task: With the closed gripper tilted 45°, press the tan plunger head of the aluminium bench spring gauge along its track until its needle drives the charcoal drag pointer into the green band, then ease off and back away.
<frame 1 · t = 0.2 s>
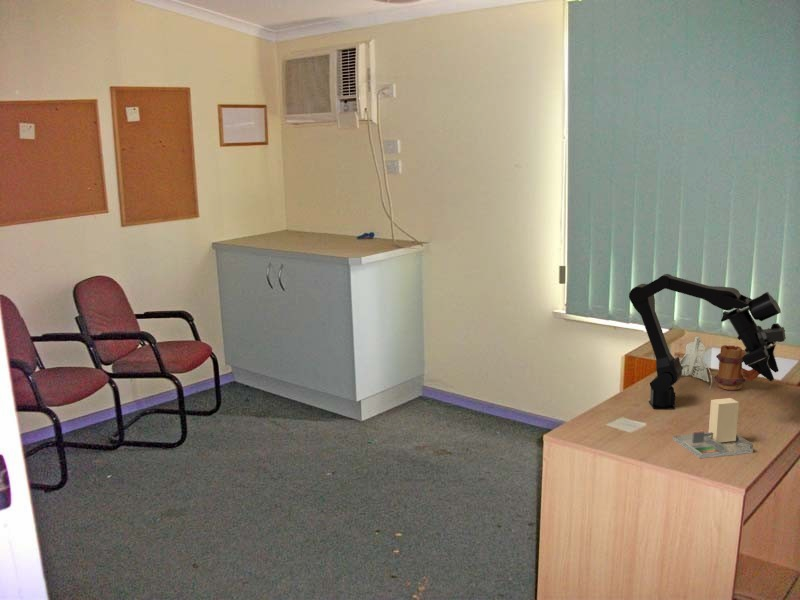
hand: (774, 375, 213), 15 cm above the table, tool tilted 35°, fingers open, 9 cm apart
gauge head: (714, 420, 202), point 7 cm above the table, slide at 0.0 cm
gauge frame: (721, 444, 203), on the table
drag pointer: (698, 436, 200), point 3 cm above the table, slide at 0.0 cm
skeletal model: (690, 377, 261), on the table
mug: (737, 390, 247), on the table
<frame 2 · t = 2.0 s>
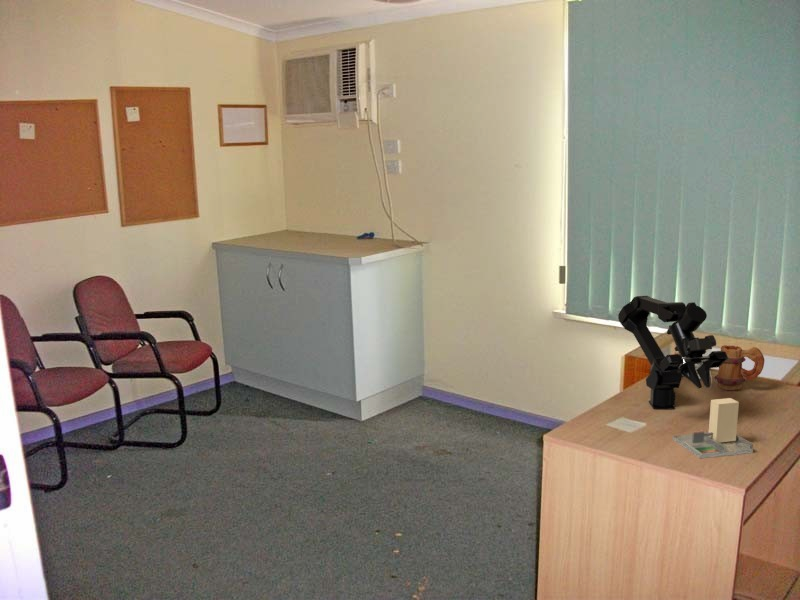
hand: (704, 387, 210), 13 cm above the table, tool tilted 45°, fingers closed
nothing on the table moved.
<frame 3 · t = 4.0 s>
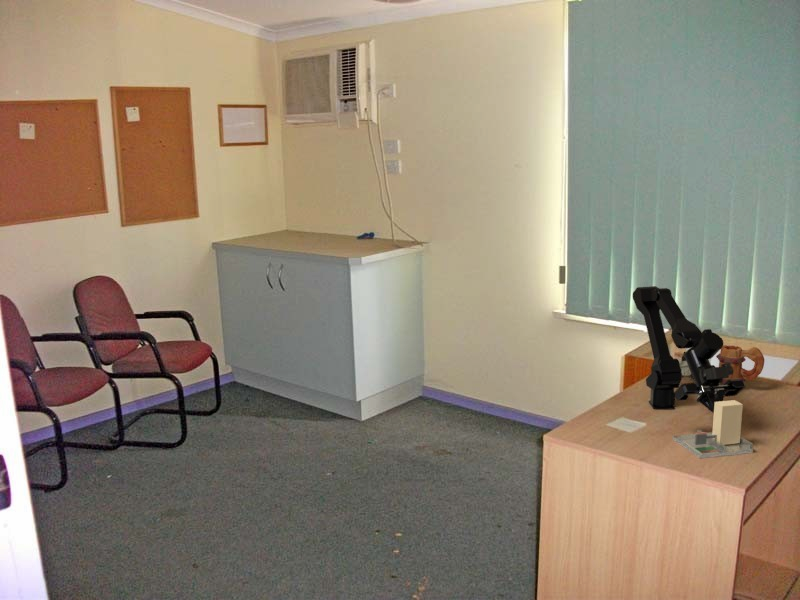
hand: (721, 417, 203), 7 cm above the table, tool tilted 45°, fingers closed, pressing on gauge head
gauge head: (718, 422, 200), point 7 cm above the table, slide at 1.7 cm, touching drag pointer, gripper
drag pointer: (700, 438, 199), point 3 cm above the table, slide at 1.2 cm, touching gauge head
everything else where it was.
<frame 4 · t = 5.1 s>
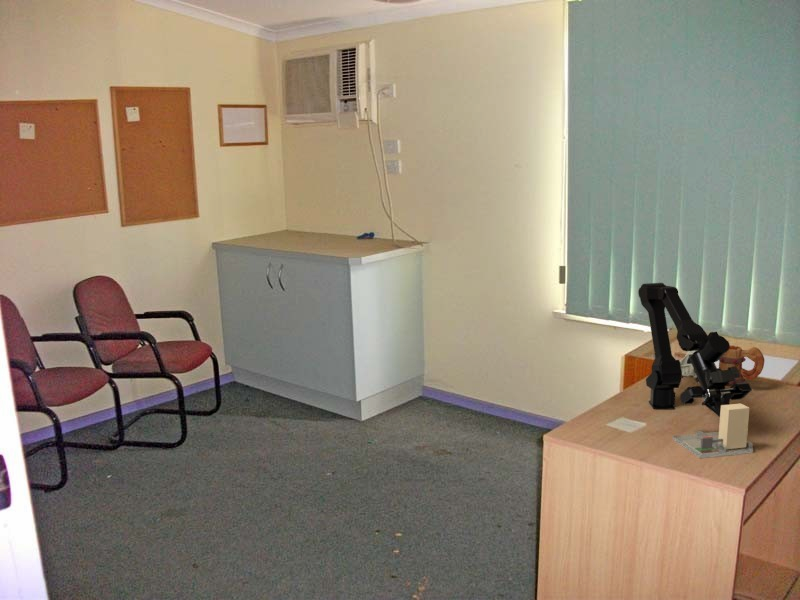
hand: (727, 421, 200), 7 cm above the table, tool tilted 45°, fingers closed, pressing on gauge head
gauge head: (724, 426, 198), point 7 cm above the table, slide at 4.4 cm, touching drag pointer, gripper
drag pointer: (706, 442, 196), point 3 cm above the table, slide at 3.9 cm, touching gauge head
everything else where it was.
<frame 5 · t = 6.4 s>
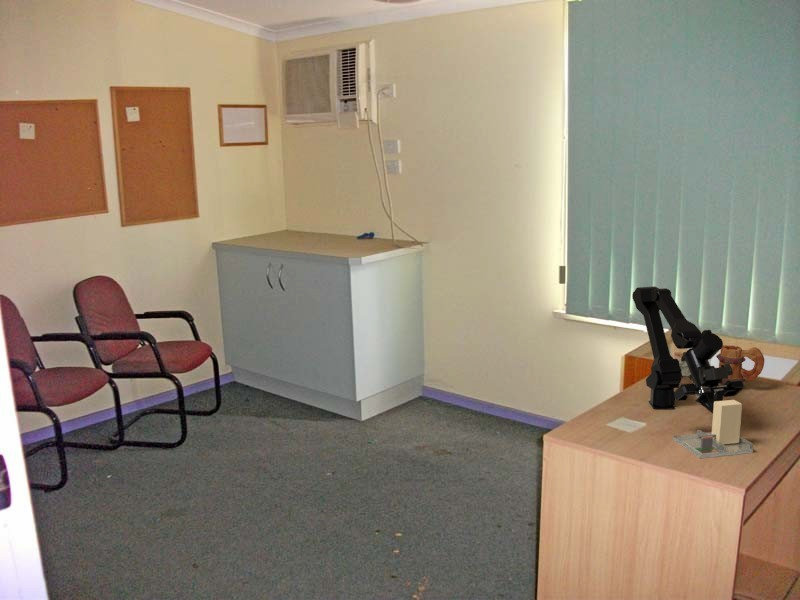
hand: (720, 418, 203), 7 cm above the table, tool tilted 45°, fingers closed, pressing on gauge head
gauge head: (717, 422, 201), point 7 cm above the table, slide at 1.4 cm, touching gripper
drag pointer: (706, 442, 196), point 3 cm above the table, slide at 3.9 cm
everything else where it was.
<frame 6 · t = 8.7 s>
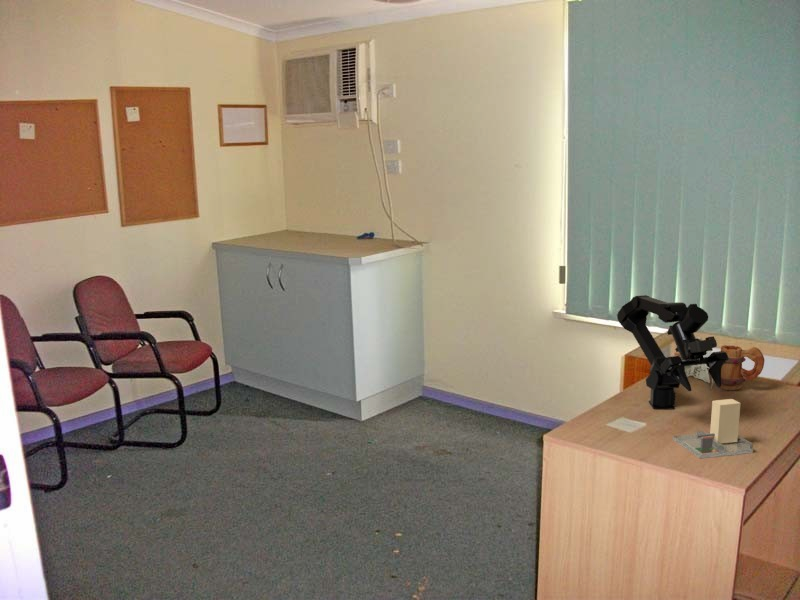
hand: (705, 389, 210), 13 cm above the table, tool tilted 45°, fingers open, 9 cm apart
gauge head: (715, 421, 201), point 7 cm above the table, slide at 0.7 cm
everything else where it was.
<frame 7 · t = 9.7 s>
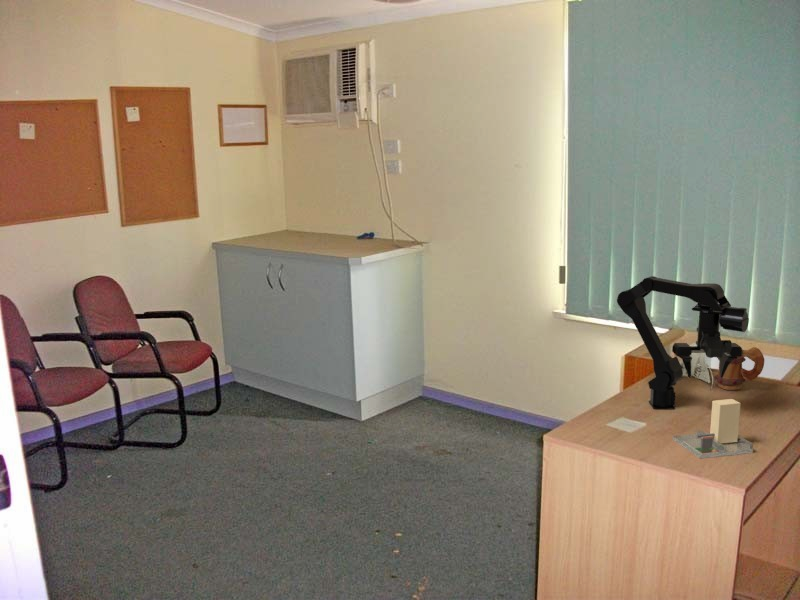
hand: (705, 377, 222), 12 cm above the table, tool pointing down, fingers open, 9 cm apart
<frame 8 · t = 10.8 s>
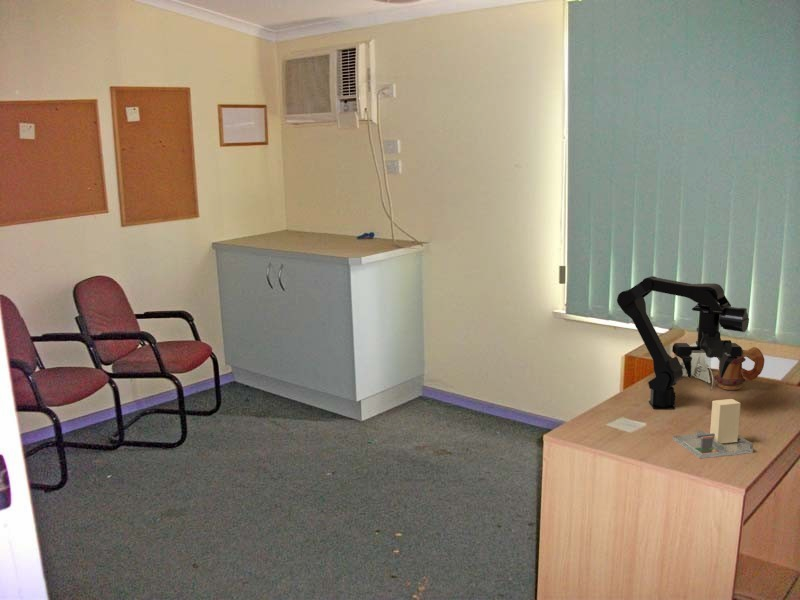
hand: (705, 377, 222), 12 cm above the table, tool pointing down, fingers open, 9 cm apart
at the end: drag pointer slide at 3.9 cm; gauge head slide at 0.7 cm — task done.
